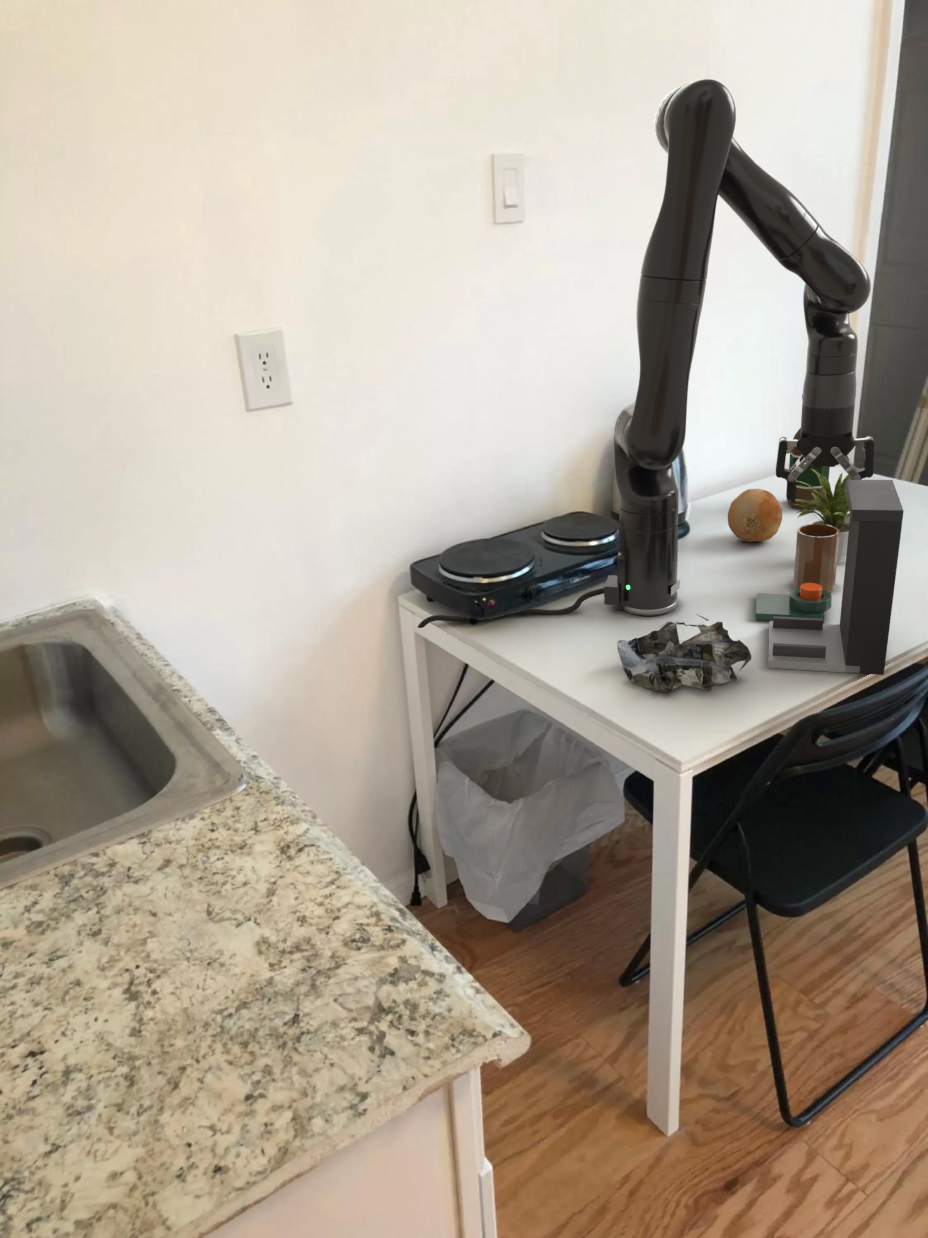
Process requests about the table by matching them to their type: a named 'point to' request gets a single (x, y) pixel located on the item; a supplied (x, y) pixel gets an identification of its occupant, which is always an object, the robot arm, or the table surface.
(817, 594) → the button
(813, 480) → the beer bottle
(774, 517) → the onion
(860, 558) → the coffee machine
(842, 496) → the house plant
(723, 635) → the foil
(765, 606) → the block
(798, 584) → the mug
